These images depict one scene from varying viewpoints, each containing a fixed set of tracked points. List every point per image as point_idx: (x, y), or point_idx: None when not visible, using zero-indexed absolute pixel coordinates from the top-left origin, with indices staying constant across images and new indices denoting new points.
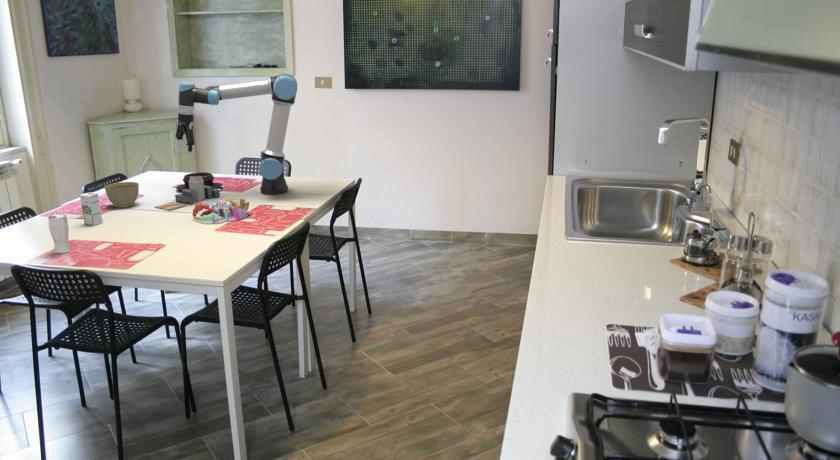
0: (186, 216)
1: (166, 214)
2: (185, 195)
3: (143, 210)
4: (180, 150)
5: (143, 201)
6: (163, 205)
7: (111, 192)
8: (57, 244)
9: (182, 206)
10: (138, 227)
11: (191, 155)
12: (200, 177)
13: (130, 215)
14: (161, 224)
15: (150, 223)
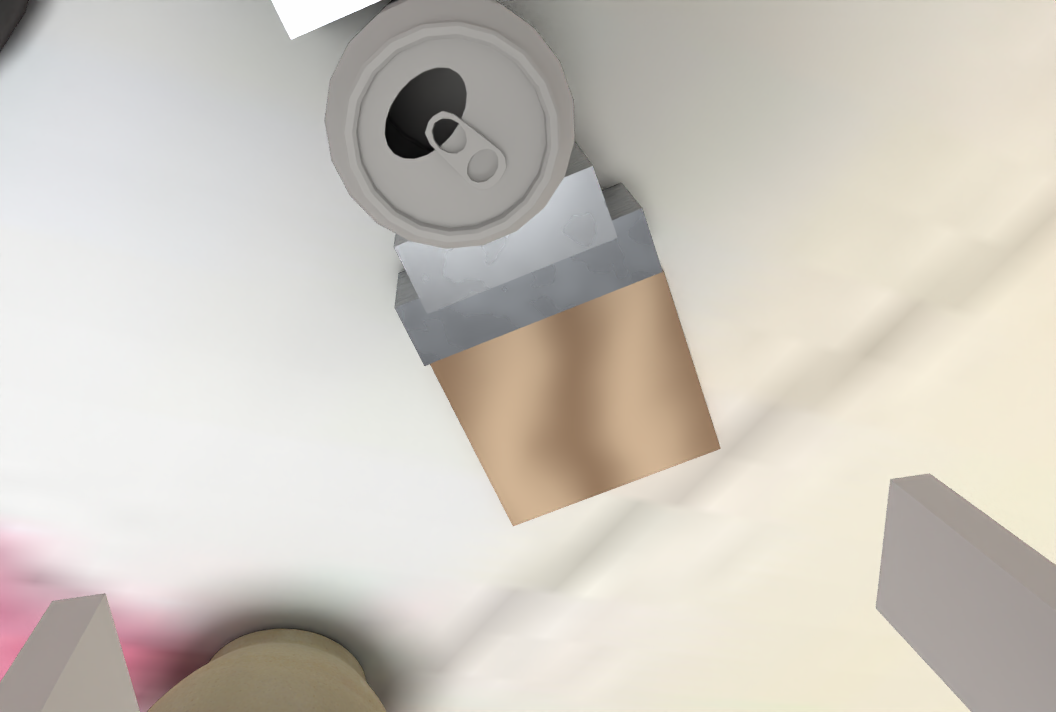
0: (998, 375)
1: (805, 486)
2: (529, 276)
3: (545, 597)
4: (98, 690)
5: (200, 553)
6: (525, 460)
7: None
8: None
9: (681, 329)
10: None
11: (979, 526)
12: (423, 39)
13: (632, 679)
14: None
15: None
